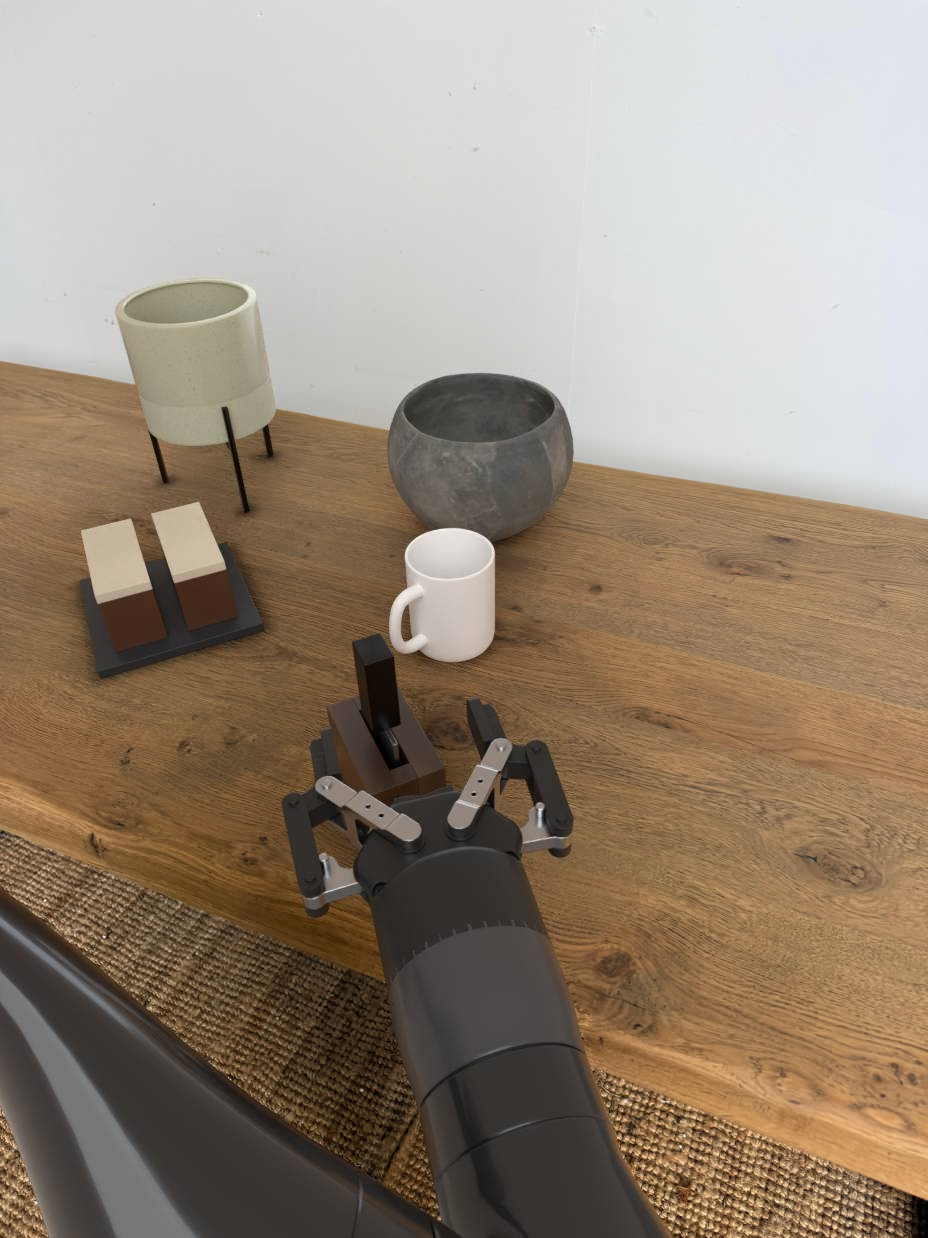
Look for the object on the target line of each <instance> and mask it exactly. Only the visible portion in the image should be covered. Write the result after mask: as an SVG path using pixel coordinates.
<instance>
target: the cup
mask: <svg viewBox="0 0 928 1238" xmlns="http://www.w3.org/2000/svg"><path fill="white" fill-rule="evenodd" d="M495 557H496V551H495V548H494V545H493V544H492V542H490V541H489V540H488V539H487V538H485V537H484V536H482V535H481V534H478V533H476V532H473V531H470V530H466V529H459V528H445V529H438V530H430V531H426V532H424V533H422V534H420V535H418V536H417V537H415V538H414V539H413V540H412V541H410V543H409V544H408V545H407V546H406V549H405V551H404V566H405V576H406V577H405V578H406V587H407V588H405V589H403V590H402V592H401V591H400V593H399V594H398V595H397V597H396V598H395V599H394V601H393V603H392V605H391V609H390V612H389V620H388V634H389V639H390V643H391V645H392V647H393V649H394V650H395V651H397V652H398V653H400V654H404V655H407V654H408V655H409V654H413V653H415V652H418V651H420V652H421V653H422V654H423V655H425V656H426V657H428V658H430V659H432V660H434V661H438V662H443V663H460V662H465V661H470V660H472V659H475V658H476V657H479V656H480V655H481V654H483V653H484V652H485V651H487V650H488V648H489V647H490V645H491V644H492V642H493V639H494V637H495V632H496V631H495V630H496V558H495ZM407 606H408V612H409V613H408V614H409V625H410V632H411V638H410V639H409V640H407V641H404V639H403V636H402V620H403V619H402V618H403V614H404V611H405V609H406V607H407Z"/></svg>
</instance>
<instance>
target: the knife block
mask: <svg viewBox="0 0 928 1238" xmlns="http://www.w3.org/2000/svg"><path fill="white" fill-rule="evenodd" d="M397 690H398V699H399V709H400V719H401V725H399V726H396V727H393V728H390V730H391V732H392V734H393V735H394V737H395V739H396V741H397V743H398V749H399V758H400V767H398V768H395V769H392V770H390V771H389V769H388V767H387V765H386V763H385V761H384V759H383V757H382V755H381V753H380V751H379V749H378V747H377V745H376V743H375V741H374V739H373V738H372V736H371V731H370V726H369V724H368V722H367V720H366V718H365V716H364V714H363V712H362V710H361V704H360V697H359V695H357V696H353V697H351V698H348V699H345V700H341V701H338V702H335V703H333V704H330V705H326V707H325V708H326V712H327V719H328V724H329V727H332V732H333V737H334V742H335V747H336V752H337V757H338V762H339V767H340V772H341V777H342V780H343V781H344V784H345V785H347V786H348V787H350V788H351V789H353V790H354V791H356V792H359V791H360V790H362V791H364V792H366V793H368V794H369V795H371V796H372V797H374V798H375V799H377V800H378V801H380V802H382V803H383V804H385V805H386V806H390V805H392V804H394V801H393V799H395V798H399V797H404V796H414V795H425V794H428V793H430V792H432V791H434V790H436V789H439V788H444V787H447V775H446V767H445V765H444V764H443V762H442V760H441V758H440V756H439V754H438V753H437V751H436V749H435V747H434V746H433V744H432V742H431V741H430V739H429V738H428V736H427V734H426V733H425V731H424V729H423V727H422V725H421V724H420V722H419V720H418V719H417V717H416V715H415V714H414V712H413V710H412V709H411V707H410V705H409V703H408V701H407V700H406V698H405V696H404V695H403V693H402V691H401V690H400V688H399V685H397Z"/></svg>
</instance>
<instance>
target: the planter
mask: <svg viewBox="0 0 928 1238" xmlns="http://www.w3.org/2000/svg"><path fill="white" fill-rule="evenodd" d="M114 314H115V317H116V320H117V321H116V322H117V324H118V327H119V331H120V335H121V338H122V341H123V347H124V349H125V353H126V356H127V360H128V364H129V367H130V371H131V374H132V377H133V381H134V385H135V387H136V388H135V389H136V393H137V395H138V399H139V403H140V406H141V410H142V413H143V417H144V420H145V423H146V428H147V431H148V434H149V439H150V441H151V445H152V449H153V452H154V456H155V459H156V462H157V467H158V470H159V473H160V478H161V480H162V484H167V483H169V481H170V479H169V476H168V471H167V468H166V463H165V460H164V456H163V454H162V450H161V445H160V443H159V440H160V441H161V442H165V443H167V444H172V445H177V446H183V447H184V446H185V447H207V446H215V445H222V444H225V445H226V447H227V448H228V450H229V451H230V455H231V460H232V466H233V469H234V474H235V478H236V483H237V487H238V492H239V496H240V501H241V504H242V511H243V512H244V513H246V514H247V513H249V512H251V510H250V506H249V500H248V496H247V491H246V487H245V482H244V478H243V473H242V468H241V463H240V459H239V454H238V449H237V445H236V444H237V443H236V441H238V440H241V439H243V438H246V437H249V436H251V435H253V434H255V433H257V432H259V431H261V430H262V434H263V441H264V446H265V451H266V455H267V457H273V456H274V449H273V443H272V438H271V432H270V426H269V424H270V423H271V421H272V420H273V419H274V417H275V415H276V411H277V405H276V399H275V394H274V388H273V382H272V375H271V371H270V365H269V360H268V354H267V349H266V343H265V337H264V331H263V324H262V319H261V313H260V307H259V302H258V297H257V293H256V291H255V289H254V288H252V287H251V286H250V285H249V284H246V283H243V282H241V281H238V280H234V279H229V278H228V279H226V278H218V277H217V278H216V277H215V278H214V277H198V278H197V277H195V278H184V279H176V280H170V281H165V282H160V283H156V284H152V285H149V286H146V287H144V288H141V289H138V290H135V291H133V292H131V293H130V294H128V295H126V296H125V297H123V298H122V299H120V300H119V302H118V303H117V304H116V306H115V309H114Z"/></svg>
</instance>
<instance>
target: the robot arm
mask: <svg viewBox="0 0 928 1238" xmlns="http://www.w3.org/2000/svg"><path fill="white" fill-rule="evenodd" d="M465 702H466V721H467V724H468V728H469V731H470V734H471V737H472V739H473V741H474V745H475V748H476V750H477V753H478V755H479V758H480V761H481V762H480V763H479V764H476V765H475V766H474V767H473V771H472V772H471V775H469V778H468V780H467V782H466V783H465V786H464V788H463V790H459V789H453V785H449V786H446V787H444V788H439V789H436V790H434V791H432V792H430V793H428V794H425V795H414V796H404V797H399V798H395V799H393V801H394V804H392V805H390V806H386V805H385V804H383V803H382V802H380V801H378V800H377V799H375V798H374V797H372V796H371V795H369V794H368V793H366V792H364V791H362V790H360V791H359V792H356V791H354V790H353V789H351V788H350V787H348V786H347V785H346V784H345V782H344V783H343V777H342V775H341V772H340V767H339V762H338V757H337V752H336V747H335V742H334V737H333V732H332V727H330V726H328V727H324V728H319V735H320V738H316V739H311V743H310V745H309V752H310V758H311V764H312V769H313V770H312V771H313V776H314V783H313V785H312V787H311V788H310V789H308V790H307V791H305V792H303V793H300V792H290V793H288V794H286V795H284V797H283V798H282V800H281V803H280V804H281V809H282V814H283V818H284V823H285V828H286V833H287V838H288V843H289V848H290V852H291V857H292V862H293V866H294V871H295V876H296V881H297V885H298V888H299V892H300V893H299V894H300V896H301V901H302V904H303V908H304V911H305V914H306V915H307V916H308V917H309V918H314V919H317V918H321V917H323V916H325V915H326V914H327V913H328V911H329V910H330V903H334V902H337V901H340V900H343V899H346V898H349V897H353V896H357V895H359V896H360V897H361V898H363V899H364V900H365V902H366V903H367V905H368V907H369V909H370V912H371V917H372V918H371V919H372V921H373V927H374V932H375V937H376V942H377V946H378V952H379V957H380V961H381V962H380V963H381V966H382V972H383V976H384V982H385V986H386V991H387V996H388V1001H389V1007H390V1011H391V1027H392V1030H393V1034H394V1036H395V1039H396V1041H397V1046H398V1050H399V1055H400V1059H401V1062H402V1066H403V1069H404V1072H405V1075H406V1078H407V1081H408V1083H409V1086H410V1089H411V1091H412V1095H413V1098H414V1101H415V1104H416V1109H417V1113H418V1116H419V1122H420V1126H421V1132H422V1136H423V1141H424V1147H425V1150H426V1155H427V1161H428V1166H429V1171H430V1175H431V1180H432V1184H433V1189H434V1195H435V1199H436V1203H437V1206H438V1211H439V1216H440V1220H439V1219H438V1218H436V1217H435V1216H433V1215H431V1214H430V1213H428V1212H427V1211H425V1210H423V1209H422V1208H421V1207H419V1206H418V1205H416V1204H415V1203H413V1202H412V1201H410V1200H409V1199H408V1198H406V1197H404V1196H402V1195H400V1193H397V1192H396V1191H395V1190H393V1189H391V1188H390V1187H388V1186H387V1185H385V1183H382V1182H380V1181H379V1180H378V1179H376V1178H374V1177H373V1176H371V1175H370V1174H368V1173H367V1172H366V1171H364V1170H362V1169H360V1168H359V1167H357V1166H356V1165H353V1163H351V1162H349V1161H348V1160H345V1158H342V1157H341V1156H340V1155H338V1154H336V1153H335V1152H333V1151H332V1150H330V1149H328V1148H327V1147H325V1146H324V1145H322V1144H320V1143H319V1142H318V1141H316V1140H315V1139H313V1138H312V1137H310V1136H308V1135H306V1134H305V1133H303V1132H302V1131H301V1130H299V1128H297V1127H295V1126H293V1125H292V1124H291V1123H289V1122H288V1121H287V1120H285V1119H284V1118H282V1117H281V1116H280V1115H278V1114H276V1113H275V1112H274V1111H272V1110H271V1109H270V1108H268V1107H267V1106H265V1105H264V1104H263V1103H261V1102H260V1101H258V1100H257V1099H256V1098H255V1097H254V1096H252V1095H250V1094H249V1093H248V1092H247V1091H245V1090H244V1089H243V1088H242V1087H240V1086H239V1085H238V1084H237V1083H235V1082H234V1081H233V1080H231V1079H230V1078H229V1077H228V1076H226V1075H225V1074H224V1073H223V1072H221V1071H220V1070H219V1069H217V1068H216V1067H215V1066H214V1065H213V1064H211V1063H210V1062H209V1061H208V1060H207V1059H206V1058H204V1057H203V1056H202V1055H201V1054H200V1053H198V1052H197V1051H196V1050H195V1049H194V1048H193V1047H192V1046H190V1045H189V1044H188V1043H187V1042H185V1041H184V1040H183V1038H181V1037H180V1036H179V1035H178V1034H176V1033H175V1032H174V1031H173V1030H172V1029H171V1028H170V1027H168V1026H167V1025H166V1024H165V1023H164V1021H163V1022H162V1020H160V1019H159V1018H158V1017H157V1016H156V1015H155V1014H154V1013H153V1012H151V1011H150V1010H149V1009H148V1008H147V1007H146V1006H145V1005H143V1003H141V1002H140V1001H139V1000H138V999H137V998H136V997H135V996H133V995H132V994H131V993H130V992H129V991H128V990H126V989H125V988H124V987H123V986H122V985H121V984H120V983H118V982H117V981H116V980H115V979H114V978H112V976H111V975H109V974H108V973H107V972H106V971H104V970H103V969H102V968H101V967H99V966H98V964H96V963H95V962H93V961H92V960H91V959H90V957H87V956H86V955H85V954H84V953H83V952H82V951H81V950H80V949H78V948H76V946H74V945H73V944H72V943H71V942H70V941H69V940H67V939H66V938H64V936H62V935H61V934H60V933H58V932H57V931H56V930H55V929H54V928H53V927H51V926H50V925H49V924H47V923H46V922H45V921H44V920H42V919H41V918H40V917H39V916H37V914H36V913H35V912H33V911H31V910H30V909H29V908H27V907H26V906H25V905H24V904H23V903H22V902H20V901H19V900H18V899H17V898H16V897H14V896H13V895H12V894H10V893H9V892H8V891H7V890H5V889H4V888H3V887H2V886H0V1109H1V1111H2V1113H3V1115H4V1118H5V1120H6V1122H7V1124H8V1127H9V1129H10V1131H11V1133H12V1137H13V1139H14V1142H15V1145H16V1147H17V1150H18V1152H19V1154H20V1158H21V1161H22V1164H23V1166H24V1169H25V1171H26V1174H27V1177H28V1180H29V1183H30V1186H31V1188H32V1192H33V1195H34V1197H35V1200H36V1203H37V1206H38V1209H39V1212H40V1215H41V1219H42V1222H43V1225H44V1227H45V1230H46V1233H47V1236H48V1238H674V1237H673V1235H672V1233H671V1231H670V1230H669V1229H668V1227H667V1226H666V1223H665V1222H664V1220H663V1219H662V1218H661V1216H660V1214H658V1211H657V1209H656V1208H655V1207H654V1206H653V1204H652V1203H651V1201H650V1199H649V1198H648V1196H647V1194H646V1192H644V1190H643V1189H642V1187H641V1186H640V1184H639V1183H638V1181H637V1179H636V1177H635V1175H634V1174H633V1173H632V1171H631V1169H630V1168H629V1166H628V1163H627V1162H626V1160H625V1158H624V1156H623V1153H622V1151H621V1147H620V1144H619V1141H618V1138H617V1135H616V1132H615V1129H614V1127H613V1123H612V1120H611V1118H610V1115H609V1113H608V1110H607V1106H606V1104H605V1101H604V1098H603V1096H602V1093H601V1090H600V1088H599V1085H598V1081H597V1079H596V1077H595V1074H594V1071H593V1068H592V1066H591V1064H590V1060H589V1058H588V1056H587V1052H586V1049H585V1048H586V1047H585V1045H584V1042H583V1038H582V1033H581V1030H580V1025H579V1021H578V1016H577V1011H576V1007H575V1004H574V1000H573V998H572V993H571V991H570V989H569V986H568V983H567V980H566V978H565V975H564V972H563V970H562V967H561V964H560V961H559V958H558V956H557V954H556V951H555V948H554V946H553V943H552V941H551V937H550V935H549V931H548V929H547V927H546V923H545V921H544V919H543V916H542V914H541V910H540V908H539V905H538V902H537V900H536V897H535V894H534V891H533V889H532V886H531V884H530V881H529V878H528V876H527V873H526V870H525V867H524V865H523V862H522V857H523V855H524V854H530V853H534V852H538V851H545V850H547V851H548V853H549V854H550V855H551V856H552V857H554V858H558V859H561V858H562V859H563V858H566V857H568V856H569V855H570V854H571V851H572V845H573V842H572V841H573V832H574V815H573V813H572V810H571V807H570V804H569V802H568V798H567V796H566V794H565V791H564V788H563V786H562V782H561V779H560V777H559V774H558V772H557V769H556V766H555V764H554V761H553V759H552V755H551V752H550V750H549V747H548V745H547V743H545V741H543V740H539V739H533V740H530V741H528V742H527V743H526V745H519V744H514V743H513V742H511V740H509V739H508V738H507V735H506V734H505V730H504V728H503V725H502V723H501V721H500V719H499V716H498V713H497V711H496V709H495V707H493V706H492V705H491V704H490V703H484V704H482V701H481V698H480V697H479V696H474V697H470V698H467V699H466V701H465ZM511 780H524V781H525V784H526V787H527V790H528V794H529V795H530V799H531V802H532V805H533V807H531V808H530V809H529V811H528V814H527V823H526V824H525V825H524V826H521V827H519V825H518V824H517V823H516V822H515V821H513V820H512V819H510V818H509V817H507V816H506V815H504V814H503V813H501V812H500V807H501V803H502V800H503V797H504V796H505V793H506V791H507V789H508V787H509V785H510V783H511ZM324 823H326V824H328V825H330V826H331V827H332V828H334V829H335V830H336V831H338V832H339V833H341V834H342V835H344V836H345V837H346V838H347V839H348V841H349V842H350V844H351V845H352V846H353V847H354V848H355V849H357V850H358V851H359V852H358V853H357V855H356V857H355V859H354V862H353V865H352V867H351V868H347V867H346V868H345V867H342V866H340V864H339V863H338V860H337V859H336V858H335V857H334V856H331V855H329V854H328V853H326V852H323V853H320V854H319V853H318V848H317V844H316V839H315V835H314V831H313V828H316V827H318V826H319V825H322V824H324Z"/></svg>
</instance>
